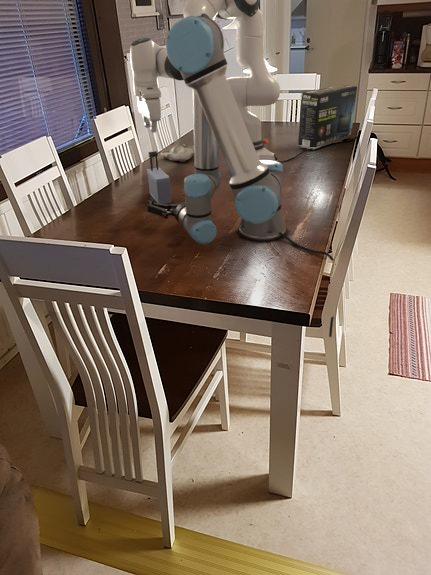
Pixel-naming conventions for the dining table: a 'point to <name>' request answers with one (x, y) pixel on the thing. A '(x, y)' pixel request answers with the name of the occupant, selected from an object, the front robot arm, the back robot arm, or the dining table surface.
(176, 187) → the dining table surface
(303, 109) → the router box
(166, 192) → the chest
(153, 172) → the grey long flat panel
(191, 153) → the fossil
